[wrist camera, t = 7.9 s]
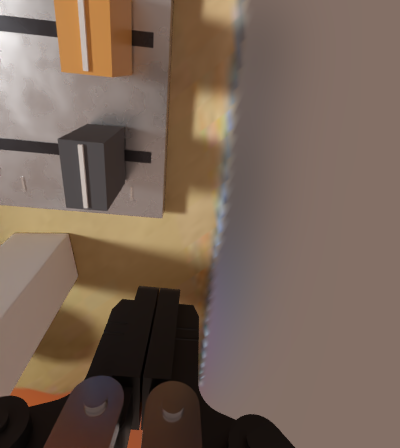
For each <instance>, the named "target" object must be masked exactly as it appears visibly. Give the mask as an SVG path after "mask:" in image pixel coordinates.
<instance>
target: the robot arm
mask: <svg viewBox="0 0 400 448" xmlns="http://www.w3.org/2000/svg"><path fill="white" fill-rule="evenodd" d="M179 297H180V289H168V288H160V293H159V288H156V287H145V286H139V287H138V290H137V293H136V297H135V300H126V299H122V300H121V301H120V302H119V303H118V304H117V305H116V306H115V307H114V308H113V309H112V311H111V314H110V317H109V319H108V323H107V324H106V327H105V330H104V333H103V335H102V337H101V340H100V343H99V345H98V348H97V350H96V353H95V356H94V358H93V361H92V363H91V366H90V369H89V371H88V374H87V376H86V378H85V379H84V381H82V382H81V383H80V384H78V385H77V386H76V387H75V388H74V389H73V391H72V392H71V393H70V394H69V395H67V396H65V397H63V398H61V399H59V400H55V401H52V402H48V403H43V404H39V405H35V406H31V407H28V405H27V403H26V402H25V401H24V400H23V399H21V398H19V397H16V396H2V397H0V448H127V445H128V440H129V435H130V430H131V429H133V430H139V425H140V421H141V415H142V421H141V430H143V434H142V445H141V448H295V447H294V446H293V445H292V444H291V443H290V441H289V440H288V439H287V438H286V437H285V436H284V435H283V434H282V432H281V431H280V430H279V429H278V428H277V427H276V426H275V425H274V424H273V423H272V422H270V421H269V420H268V419H266V418H264V417H262V416H259V415H254V414H253V415H252V414H249V415H244V416H242V417H240V418H238V419H237V420H235V419H232V418H230V417H228V416H226V415H223V414H221V413H219V412H217V411H215V410H214V409H212V408H211V407H210V406H209V405H208V404H207V403H206V402H205V401H204V399H203V398H202V396H201V394H200V391H199V387H198V345H199V342H198V340H199V316H198V314H197V312H196V310H195V308H194V306H193V305H184V304H179Z"/></svg>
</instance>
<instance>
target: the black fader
mask: <svg viewBox="0 0 400 448" xmlns="http://www.w3.org/2000/svg"><path fill="white" fill-rule="evenodd" d="M57 140H58V148H59V156H60V163H61V171H62V179H63V187H64V195H65V203H66V208H74V209H86V210H98V211H108V209H109V208H110V206H111V205H112V203H113V202H114V200H115V198H116V197H117V195H118V194H119V192H120V190H121V189H122V187H123V186H124V184H125V159H124V127H117V126H106V125H96V124H86V125H84V126H82V127H80V128H78V129H76V130H74V131H72V132H70V133H68V134H66V135H64V136H62V137H60V138H58V139H57Z"/></svg>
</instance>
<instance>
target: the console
mask: <svg viewBox="0 0 400 448" xmlns="http://www.w3.org/2000/svg"><path fill="white" fill-rule="evenodd" d="M131 14H132V75H129V76H121V77H104V76H94V75H85V74H75V73H66V72H61V63H60V54H59V45H58V36H57V27H56V18H55V8H54V0H0V205H8V206H20V207H32V208H44V209H56V210H68V211H80V212H92V213H105V214H117V215H129V216H141V217H153V218H162V217H163V213H164V205H165V182H166V159H167V136H168V114H169V91H170V68H171V46H172V23H173V0H131ZM86 124H96V125H106V126H117V127H124V159H125V184H124V186H123V187H122V189H121V190H120V192H119V194H118V195H117V197H116V198H115V200H114V202H113V203H112V205H111V206H110V208H109V209H108V211H98V210H86V209H74V208H66V203H65V195H64V187H63V179H62V171H61V163H60V156H59V148H58V140H57V139H58V138H60V137H62V136H64V135H66V134H68V133H70V132H72V131H74V130H76V129H78V128H80V127H82V126H84V125H86Z"/></svg>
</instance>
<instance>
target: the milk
mask: <svg viewBox="0 0 400 448" xmlns="http://www.w3.org/2000/svg"><path fill="white" fill-rule="evenodd" d="M77 278H78V273H77V269H76V264H75V260H74V256H73V251H72V247H71V242H70V238H69V234H68V233H14V234H13V235H12V236H11V237H10V238H8V239H7V240H6V241H5V242H4V243H3V244H2V245H1V246H0V397H2V396H10V394H11V392H12V390H13V389H14V387H15V385H16V383H17V382H18V380H19V378H20V376H21V375H22V373H23V371H24V370H25V368H26V366H27V364H28V363H29V361H30V359H31V357H32V356H33V354H34V352H35V350H36V349H37V347H38V345H39V344H40V342H41V340H42V338H43V337H44V335H45V333H46V331H47V330H48V328H49V326H50V324H51V323H52V321H53V319H54V318H55V316H56V314H57V312H58V311H59V309H60V307H61V305H62V304H63V302H64V300H65V298H66V297H67V295H68V293H69V292H70V290H71V288H72V286H73V285H74V283H75V281H76V279H77Z"/></svg>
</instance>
